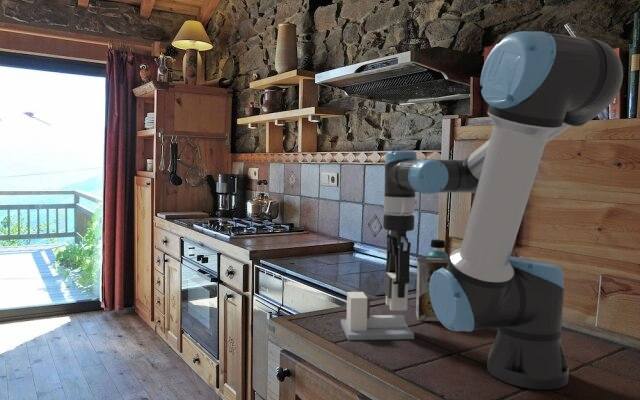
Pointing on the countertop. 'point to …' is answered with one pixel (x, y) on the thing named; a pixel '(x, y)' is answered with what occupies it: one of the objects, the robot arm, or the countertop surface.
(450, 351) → the countertop surface
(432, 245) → the beverage bottle
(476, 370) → the countertop surface
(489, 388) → the countertop surface
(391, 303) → the white bridge block
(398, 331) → the rail base
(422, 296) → the coffee box
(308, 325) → the countertop surface
